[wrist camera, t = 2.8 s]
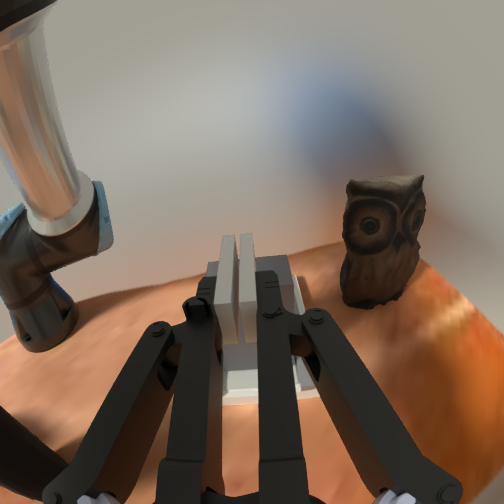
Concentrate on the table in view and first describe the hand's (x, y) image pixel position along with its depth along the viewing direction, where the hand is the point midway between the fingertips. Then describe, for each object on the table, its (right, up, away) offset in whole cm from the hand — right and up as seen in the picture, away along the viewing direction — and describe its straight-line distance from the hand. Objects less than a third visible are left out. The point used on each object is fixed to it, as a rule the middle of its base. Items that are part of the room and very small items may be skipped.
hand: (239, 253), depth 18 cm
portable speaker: (-23, -27, -2) cm, 36 cm away
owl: (+21, -6, +26) cm, 34 cm away
